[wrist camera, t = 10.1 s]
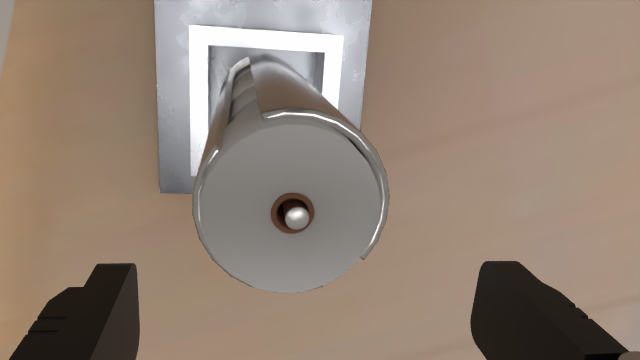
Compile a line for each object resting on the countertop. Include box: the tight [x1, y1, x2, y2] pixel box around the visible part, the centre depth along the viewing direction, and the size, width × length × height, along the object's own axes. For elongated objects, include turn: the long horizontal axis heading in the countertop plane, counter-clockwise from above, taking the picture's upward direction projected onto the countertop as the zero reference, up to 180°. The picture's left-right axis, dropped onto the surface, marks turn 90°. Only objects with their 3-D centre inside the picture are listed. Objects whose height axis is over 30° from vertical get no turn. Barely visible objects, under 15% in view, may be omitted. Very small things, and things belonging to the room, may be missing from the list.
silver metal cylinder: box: [192, 54, 390, 293], centre depth 27 cm, size 6×6×25 cm
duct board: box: [154, 0, 372, 194], centre depth 37 cm, size 16×16×5 cm
